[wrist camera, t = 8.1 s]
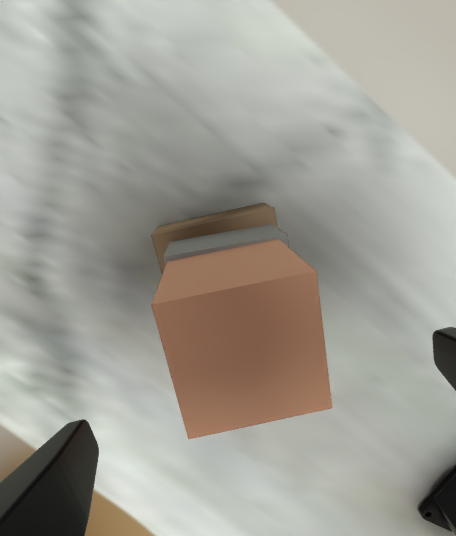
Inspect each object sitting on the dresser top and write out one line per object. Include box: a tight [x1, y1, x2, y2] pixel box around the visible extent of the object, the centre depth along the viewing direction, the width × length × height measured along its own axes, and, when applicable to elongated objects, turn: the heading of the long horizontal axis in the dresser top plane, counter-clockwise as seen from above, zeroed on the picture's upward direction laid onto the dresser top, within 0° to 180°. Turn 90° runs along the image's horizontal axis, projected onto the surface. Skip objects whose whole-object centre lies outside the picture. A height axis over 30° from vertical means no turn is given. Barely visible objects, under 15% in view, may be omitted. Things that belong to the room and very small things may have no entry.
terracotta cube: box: [151, 239, 332, 439], centre depth 12 cm, size 4×4×4 cm
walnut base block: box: [151, 203, 277, 275], centre depth 18 cm, size 6×6×3 cm
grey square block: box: [163, 224, 289, 266], centre depth 15 cm, size 5×5×3 cm
